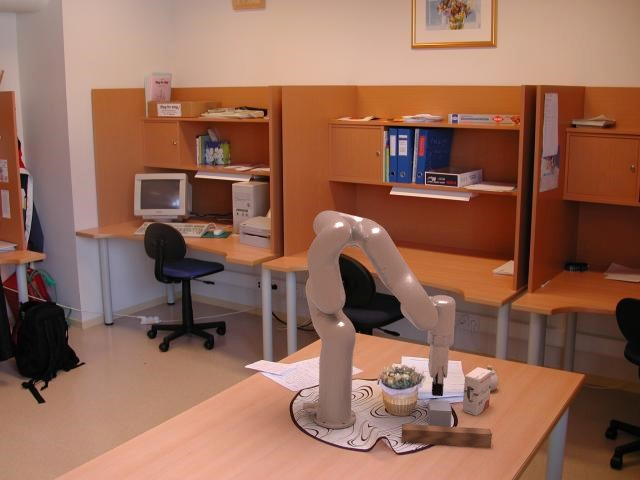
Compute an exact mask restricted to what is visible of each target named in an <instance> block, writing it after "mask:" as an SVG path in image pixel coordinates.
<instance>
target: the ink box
mask: <svg viewBox="0 0 640 480" xmlns="http://www.w3.org/2000/svg"><path fill="white" fill-rule="evenodd" d="M491 375H492V371H490V370H487V368H482V367H476V368H474V369H473V370H472V371H470V372H468V373H467V374H465V375H464V387H463V397H462V398H463V400H462V410H461V411H462V412H463V413H466V414H470V415H472V416H475V417H477V416H478V415H479V414H480V413H482V412H483V411H484V410H486V409H487V408H488V407H489V406H490V398H491V397H490V396H491V391H490V386H491Z"/></svg>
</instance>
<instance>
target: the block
mask: <svg viewBox="0 0 640 480" xmlns="http://www.w3.org/2000/svg"><path fill="white" fill-rule="evenodd" d="M427 406H428V407H427V424H428V425H429V426H447V427H452V426H451V425H452V414H453V413H452V405H451V402H450V401H449V400H447V401H446V400H431V399H430V400H428V405H427Z"/></svg>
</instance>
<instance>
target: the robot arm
mask: <svg viewBox="0 0 640 480" xmlns="http://www.w3.org/2000/svg"><path fill="white" fill-rule="evenodd" d="M312 225H313V232H314V233H315V235H316V237H315V238H314V239H313V241H312V242H311V244H310V246H309V248H308V250H307V256H306V263H307V269H308V270H307V271H308V276H309V277H308V278H307V280H306V283H305V296H306V300H307V305H308V309H309V310H308V311H309V313H310V318H311V319H310V320H311V322H312V325H313V327H314V330H315V331H316V333H317V335H318V337H319V338H320V340H321V344H320V345H321V347H320V352H319V361H318V363H319V364H318V365H319V366H318V371H319V372H318V399H317V402H316V401H315V402H313V403H312V402H303V403H302V409H303V410H305V411H306V412H305V413H312V420H313V421H314V423H316V424H317V425H318V426H320V427H322V428H326V429H335V430H339V429H345V428H348V427H351V426H352V425H354V424H355V423H356V422H357V414H356V412H355V411H354V410H353V409H352V395H353V393H352V392H353V365H354V362H353V361H354V352H355V347H356V340H357V334H356V329H355V326H354V324H353V323H352V321H351V320H350V318H349V317H347V315H346V314H345V313H344V311H343V308H344V306H345V305H346V304H345V303H346V292H345V288H344V285H343V280H342V275H341V271H340V270H341V269H340V264H339V261H340V260H339V258H340V255H341V252H342V251H343V250H344V249H345V248H346V246H348V245H352V246H357V247H358V248H360V250H361V251H362V252H363V254H364V255H365V257H366V258H367V260H368V261H369V264H370V265H371V267H373V268H372V269H374V271H375V273H376V275H377V276H378V278H379V279H380V281H381V283H383V285H384V286H385V287H386V289H387V290H388V291H390V293H391V294H392V295H393V296H395V298H396V299H397V300H398V302H399V303H400V311H401V314H402V315H403V316H404V318H406V319H407V320H408V322H410V323H411V324H412V325H413V326H414V327H415V328H416V329H418V330H419V331H421V332H422V331H423V332H427V340H426V342H427V343H428V344H429V352H428V363H427V365H428V372H429V373H428V374H429V377H430V378H431V379H432V382H431V396H433V397H443V396H444V379H446V378H447V376H448V368H449V360H450V359H449V356H450V347H451V346H452V345H454V339H455V338H454V337H455V323H456V322H455V321H456V320H455V319H456V300H455V299H454V297H452V296H449V295H443V294H437V295H434V296H431V295H430V296H429V295H428V292H426V290H425V288H424V287H423V286H422V285H421V282H420V281H419V280H418V279H417V277H416V276H415V274H414V273H413V271H412V270H411V268H410V267H409V265H408V264H407V262H406V261H405V259H404V257H403V256H402V254H401V253H400V251H399V249H398V248H397V246H396V244H395V243H394V241H393V239H392V238H391V236H390V235H389V233H388V231H387V230H386V228H384V227H383V226H382V225H380V224H378V222H376V221H374V220H373V219H369V218H366V217H361V216H358V215H352V214H348V213H343V212H340V211H336V210H324V211H320V212H319V213H318V214H317V215H316V216H315V218H314V220H313V224H312Z"/></svg>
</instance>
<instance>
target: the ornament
mask: <svg viewBox="0 0 640 480" xmlns="http://www.w3.org/2000/svg"><path fill="white" fill-rule="evenodd" d="M495 366H496V365H495V363H493V364H492V365H490V364H488V365H487V366H486V367H487V368H486V369H487V370H490V371H492V375H491V386H490V392H491V391H493V390H495V389H496V388H497V387H498V386H499V378H498V376H497V372H498V371H497V368H496V369H493V367H495Z"/></svg>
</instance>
